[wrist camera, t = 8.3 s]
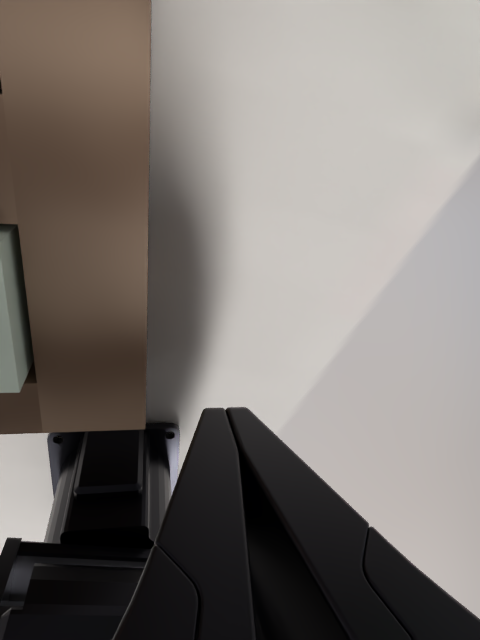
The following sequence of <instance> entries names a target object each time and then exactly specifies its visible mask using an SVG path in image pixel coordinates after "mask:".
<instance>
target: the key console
mask: <svg viewBox="0 0 480 640" xmlns="http://www.w3.org/2000/svg"><path fill="white" fill-rule="evenodd" d="M150 62H151V0H0V78H1V80H0V224H17V225H18V229H19V237H20V245H21V254H22V262H23V271H24V279H25V287H26V296H27V304H28V313H29V321H30V329H31V338H32V346H33V354H34V361H33V363H32V366H31V368H30V370H29V372H28V375H27V377H26V379H25V382H24V384H23V386H22V388H21V391H20V393H0V434H23V433H52V432H81V431H109V430H138V429H145V418H146V368H147V295H148V217H149V140H150Z"/></svg>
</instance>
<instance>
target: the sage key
mask: <svg viewBox="0 0 480 640" xmlns="http://www.w3.org/2000/svg"><path fill="white" fill-rule="evenodd" d="M33 361H34V354H33V346H32V338H31V329H30V321H29V313H28V304H27V296H26V287H25V279H24V271H23V262H22V254H21V245H20V237H19V229H18V225H17V224H0V393H20V391H21V388H22V386H23V384H24V382H25V379H26V377H27V375H28V372H29V370H30V368H31V366H32V363H33Z"/></svg>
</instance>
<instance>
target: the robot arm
mask: <svg viewBox="0 0 480 640" xmlns="http://www.w3.org/2000/svg"><path fill="white" fill-rule="evenodd" d="M167 432H173V433H172V434H167ZM55 436H61V437H63V438H57V437H55ZM179 440H180V432H179V427H178V426H177V425H176V424H174V423H154V424H145V429H138V430H109V431H81V432H52V433H49V435H48V439H47V442H48V451H49V459H50V468H51V477H52V485H53V494H54V502H53V506H52V510H51V514H50V518H49V523H48V527H47V531H46V535H45V539H44V542H30V541H21V540H22V538H7V540H6V542H5V545H4V547H3V550H2V553H1V555H0V640H480V619H479V618H478V617H476V616H475V615H474V614H473V613H472V612H470V611H469V610H468V609H467V608H465V607H464V606H463V605H461V604H460V603H459V602H458V601H457V600H455V599H454V598H453V597H451V596H450V595H449V594H448V593H447V592H446V591H444V590H443V589H442V588H441V587H440V586H438V585H437V584H436V583H434V582H433V581H432V580H431V579H430V578H429V577H428V576H426V575H425V574H424V573H423V572H422V571H420V570H419V569H418V568H417V567H416V566H414V565H413V564H412V563H411V562H410V561H409V560H408V559H407V558H406V557H405V556H403V555H402V554H401V553H400V552H399V551H398V550H397V549H396V548H395V547H393V545H391V544H390V543H389V542H388V541H387V540H386V539H385V538H384V537H383V536H382V535H381V534H380V533H379V532H378V531H377V530H376V529H374V528H373V527H369V523H368V522H367V521H366V520H365V519H364V518H362V516H361V515H359V514H358V513H357V512H356V511H355V510H354V509H353V508H352V507H351V506H350V505H349V504H348V503H347V502H346V501H345V500H344V499H343V498H341V497H340V496H339V495H338V494H337V493H336V492H335V491H334V490H333V489H332V488H331V487H330V486H329V485H328V484H327V483H326V482H325V481H324V480H323V479H322V478H320V477H319V476H318V475H317V474H316V473H315V472H314V471H313V470H312V469H311V468H310V467H309V466H308V465H307V464H306V463H305V462H304V461H303V460H302V459H301V458H299V457H298V456H297V455H296V454H295V453H294V452H293V451H292V450H291V449H290V448H289V447H288V446H287V445H286V444H284V443H283V442H282V440H280V439H279V438H278V437H277V436H276V435H275V434H274V433H273V432H272V431H271V430H270V429H269V428H268V427H267V426H266V425H265V424H264V423H263V422H262V421H260V420H259V419H258V418H257V417H256V416H255V415H254V414H253V413H252V412H251V411H250V410H249V409H248V408H246V407H230V408H227V409H226V410H225V409H223V408H205V409H204V410H203V412H202V414H201V417H200V420H199V422H198V425H197V428H196V431H195V433H194V436H193V439H192V441H191V444H190V447H189V450H188V452H187V455H186V458H185V460H184V463H183V466H182V469H181V471H180V474H179V477H178V479H177V475H178V458H179Z"/></svg>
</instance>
